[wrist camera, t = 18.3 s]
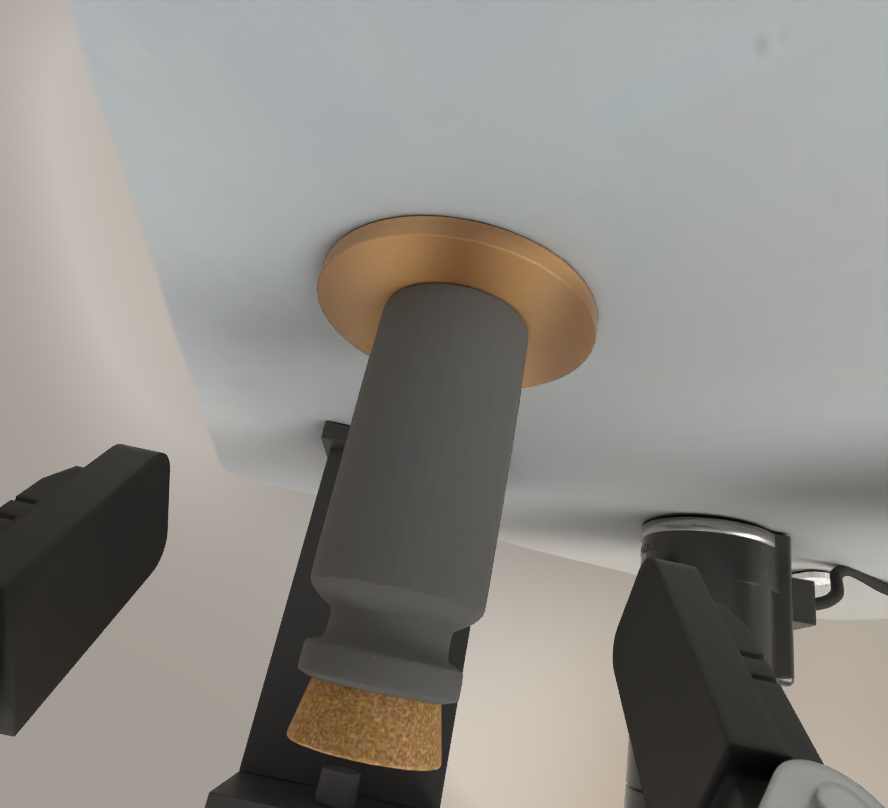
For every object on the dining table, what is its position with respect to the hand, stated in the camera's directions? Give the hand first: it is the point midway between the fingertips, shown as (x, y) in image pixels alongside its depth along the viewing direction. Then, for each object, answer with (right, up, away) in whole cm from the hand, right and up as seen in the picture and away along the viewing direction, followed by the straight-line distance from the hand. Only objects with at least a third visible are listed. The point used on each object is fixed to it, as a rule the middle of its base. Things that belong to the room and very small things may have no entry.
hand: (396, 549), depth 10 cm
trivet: (+1, +6, +15) cm, 16 cm away
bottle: (+1, +6, +14) cm, 15 cm away
